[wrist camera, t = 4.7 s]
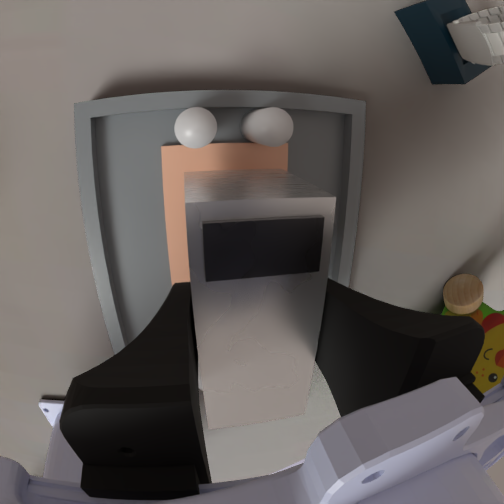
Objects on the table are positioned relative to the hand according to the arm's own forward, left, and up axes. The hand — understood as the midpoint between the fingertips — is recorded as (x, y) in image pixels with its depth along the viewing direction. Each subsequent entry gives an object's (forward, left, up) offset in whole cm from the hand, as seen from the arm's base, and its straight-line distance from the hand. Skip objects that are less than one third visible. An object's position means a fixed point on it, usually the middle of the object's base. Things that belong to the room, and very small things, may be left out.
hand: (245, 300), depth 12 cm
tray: (0, 0, -6) cm, 6 cm away
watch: (+14, -14, -6) cm, 21 cm away
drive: (0, 0, -2) cm, 2 cm away
